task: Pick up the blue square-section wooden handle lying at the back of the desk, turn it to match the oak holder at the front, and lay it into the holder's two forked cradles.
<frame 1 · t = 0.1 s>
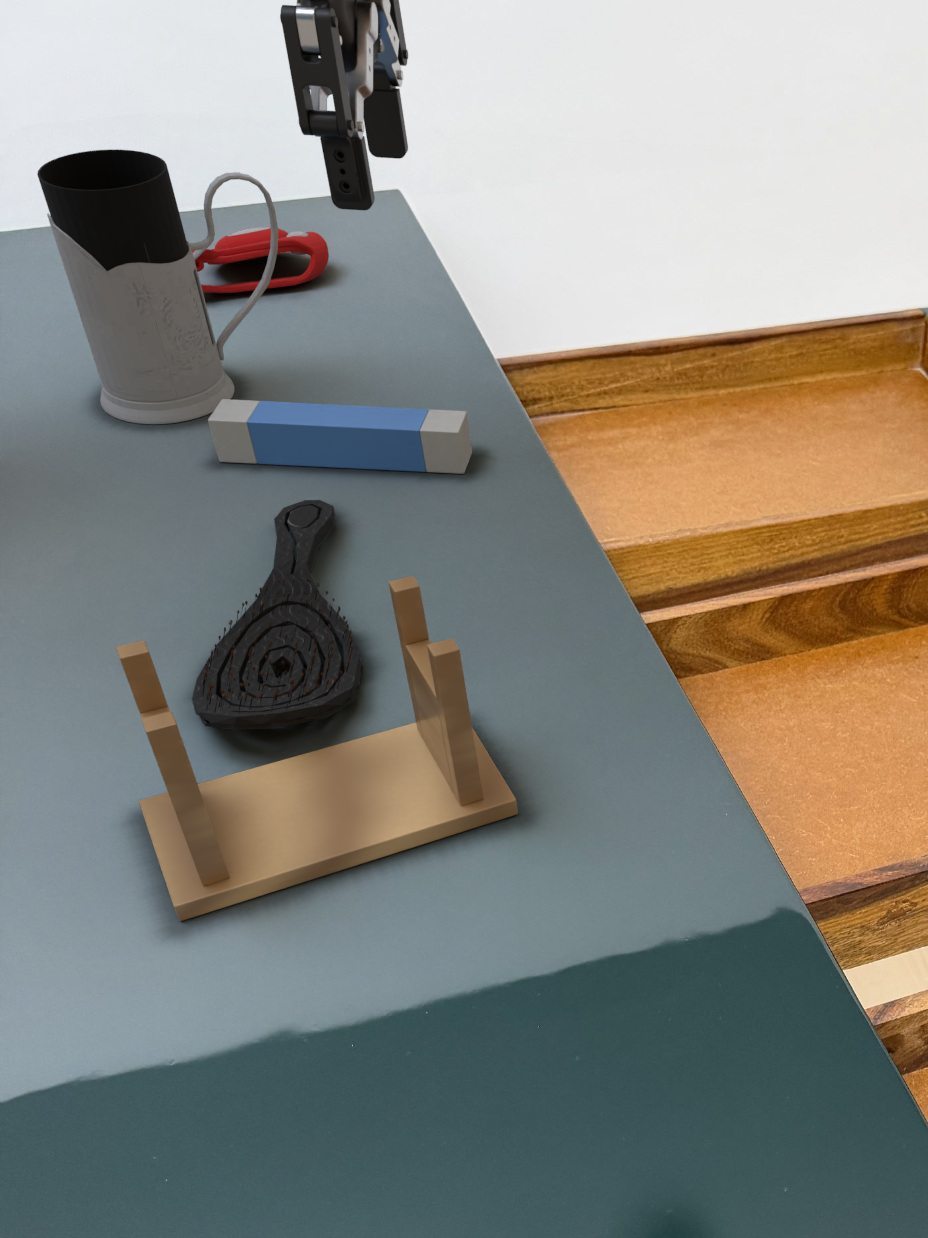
hand: (372, 181, 82), 18 cm above the table, tool pointing down, fingers open, 8 cm apart
holder: (333, 814, 69), on the table
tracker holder: (247, 280, 114), on the table
hairbrush: (295, 628, 80), on the table
handle: (347, 457, 94), on the table
glass holder: (209, 389, 100), on the table
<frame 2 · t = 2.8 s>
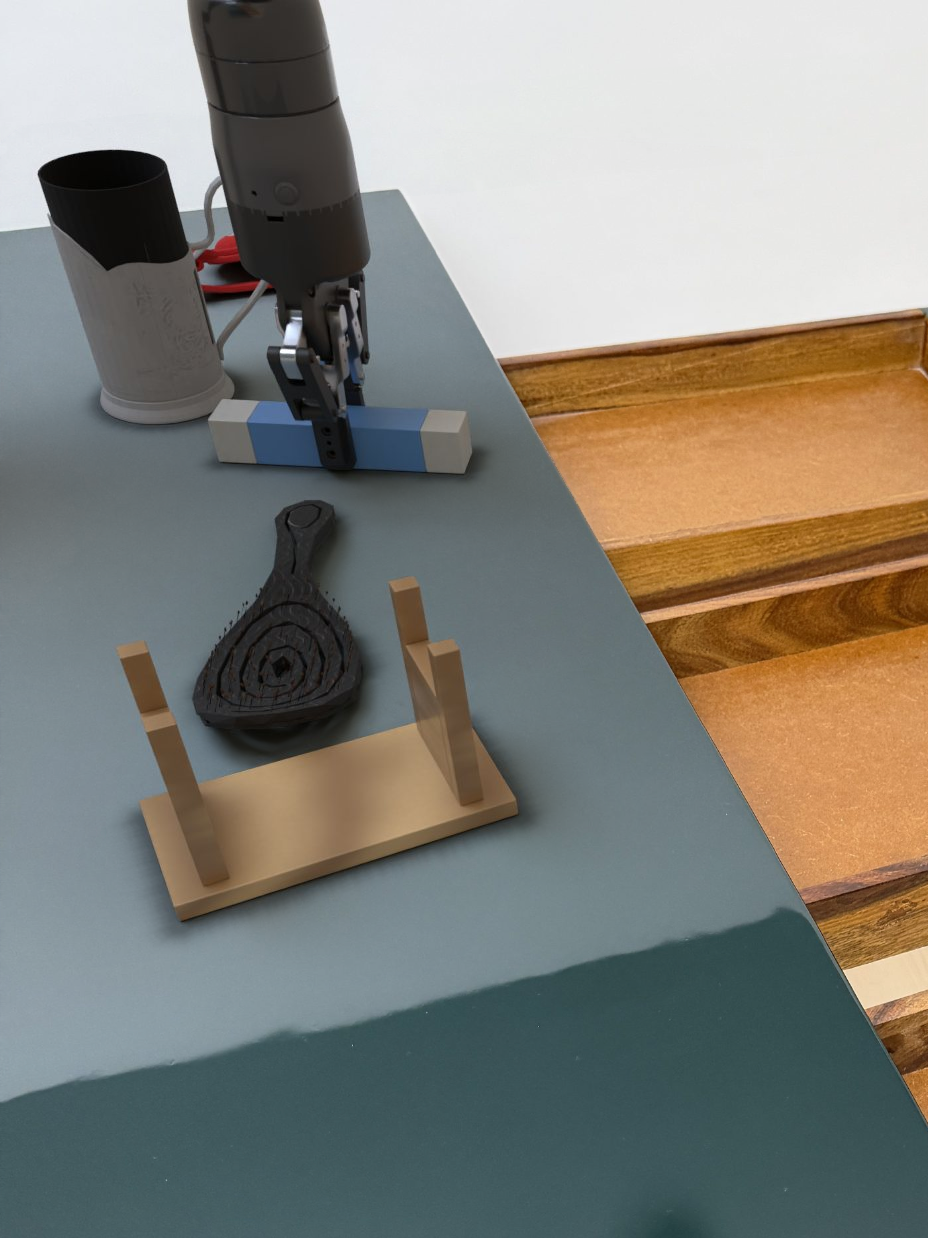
hand: (346, 452, 94), 0 cm above the table, tool pointing down, fingers closed on handle, 3 cm apart
handle: (347, 457, 94), on the table, touching gripper
everything else where it was.
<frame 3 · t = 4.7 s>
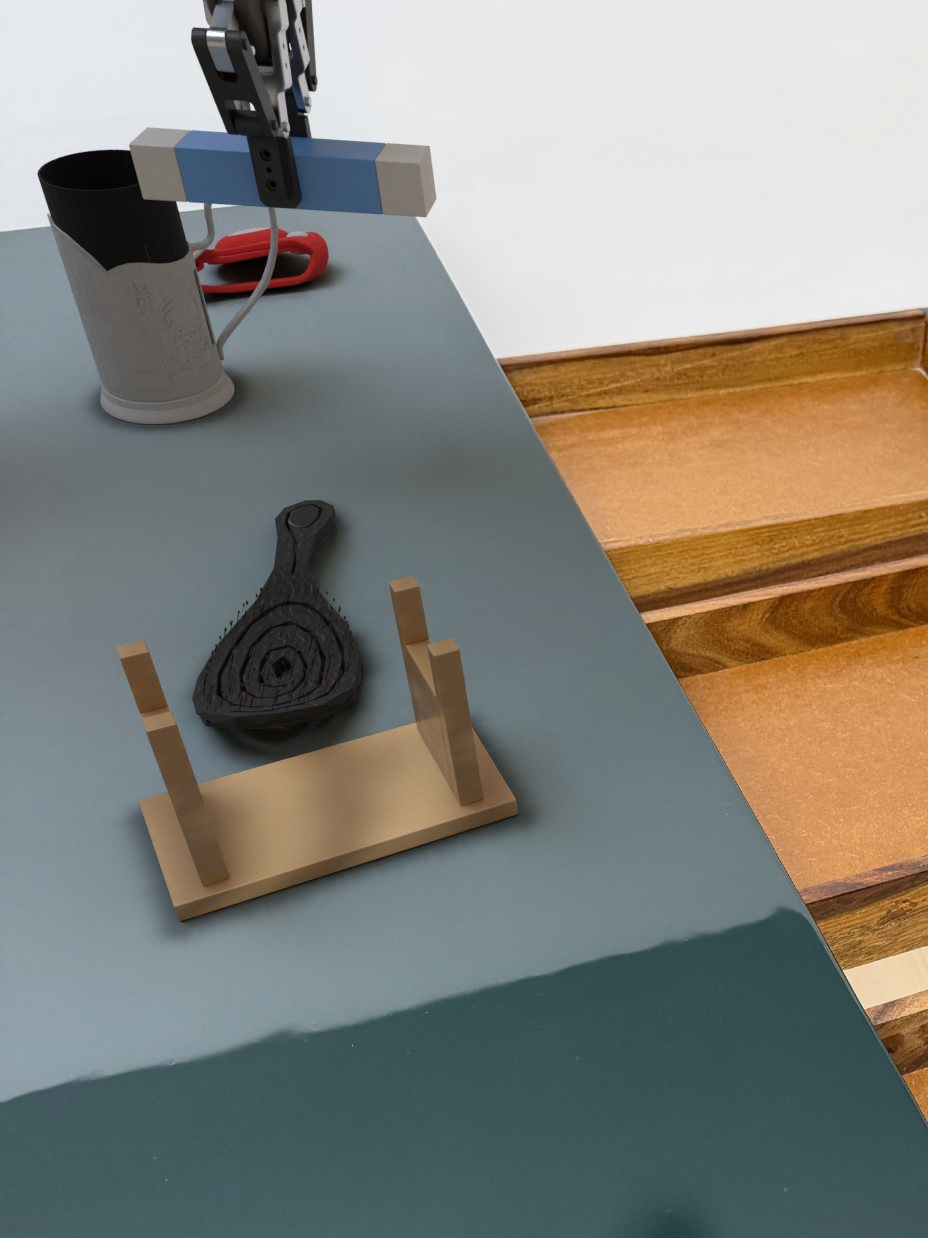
hand: (290, 192, 82), 17 cm above the table, tool pointing down, fingers closed on handle, 3 cm apart
handle: (292, 199, 82), point 17 cm above the table, touching gripper
everything else where it was.
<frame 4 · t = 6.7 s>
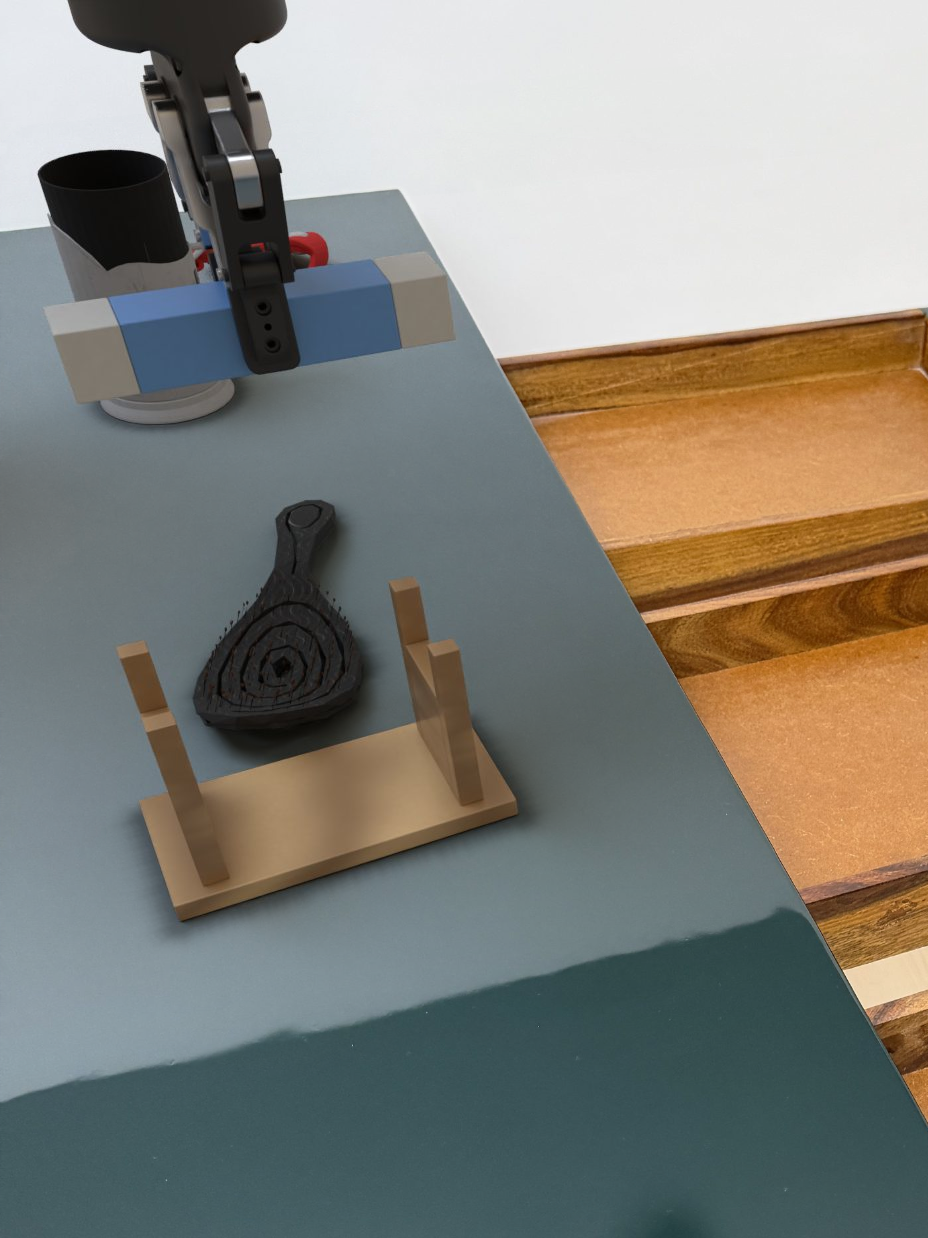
hand: (264, 350, 62), 20 cm above the table, tool pointing down, fingers closed on handle, 3 cm apart
handle: (268, 357, 62), point 19 cm above the table, touching gripper
everything else where it was.
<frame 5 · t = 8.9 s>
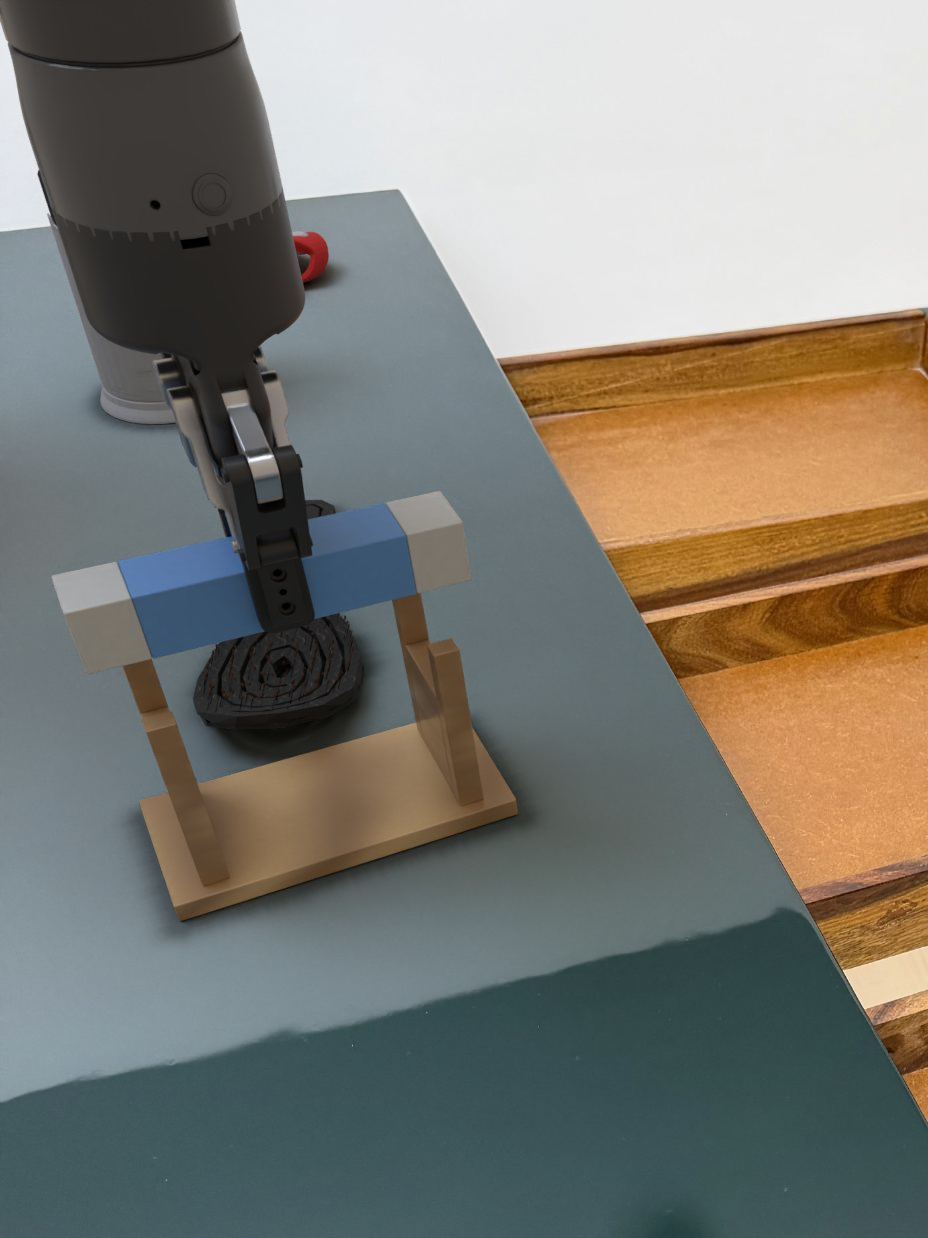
hand: (277, 601, 60), 12 cm above the table, tool pointing down, fingers closed on handle, 3 cm apart
handle: (280, 607, 61), point 12 cm above the table, touching gripper
everything else where it was.
when the fingers open (7 cm above the table, at t = 10.4 s): handle stays where it is, resting on holder.
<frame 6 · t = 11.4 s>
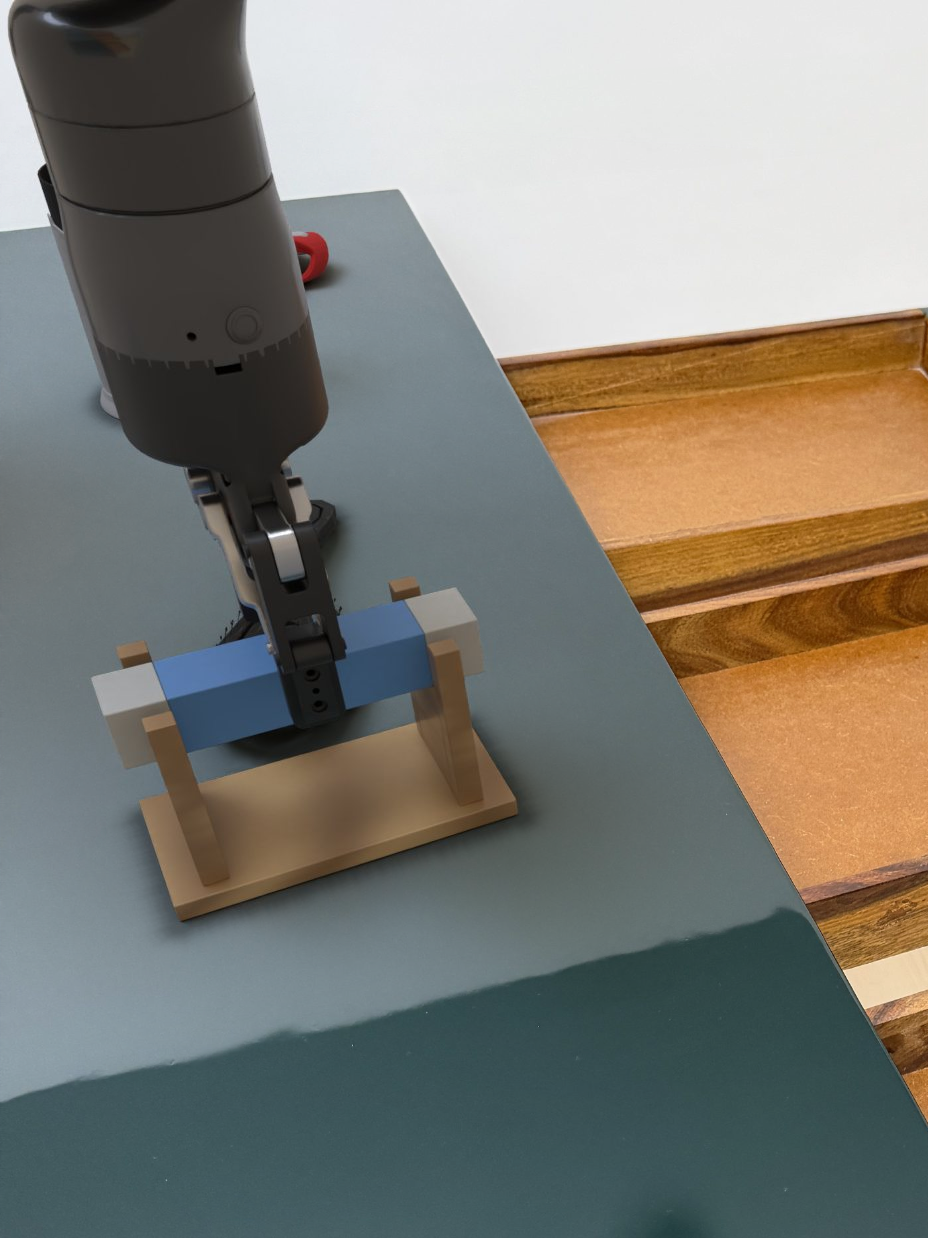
hand: (293, 665, 63), 9 cm above the table, tool pointing down, fingers open, 8 cm apart
handle: (305, 700, 64), point 7 cm above the table, touching holder
everything else where it was.
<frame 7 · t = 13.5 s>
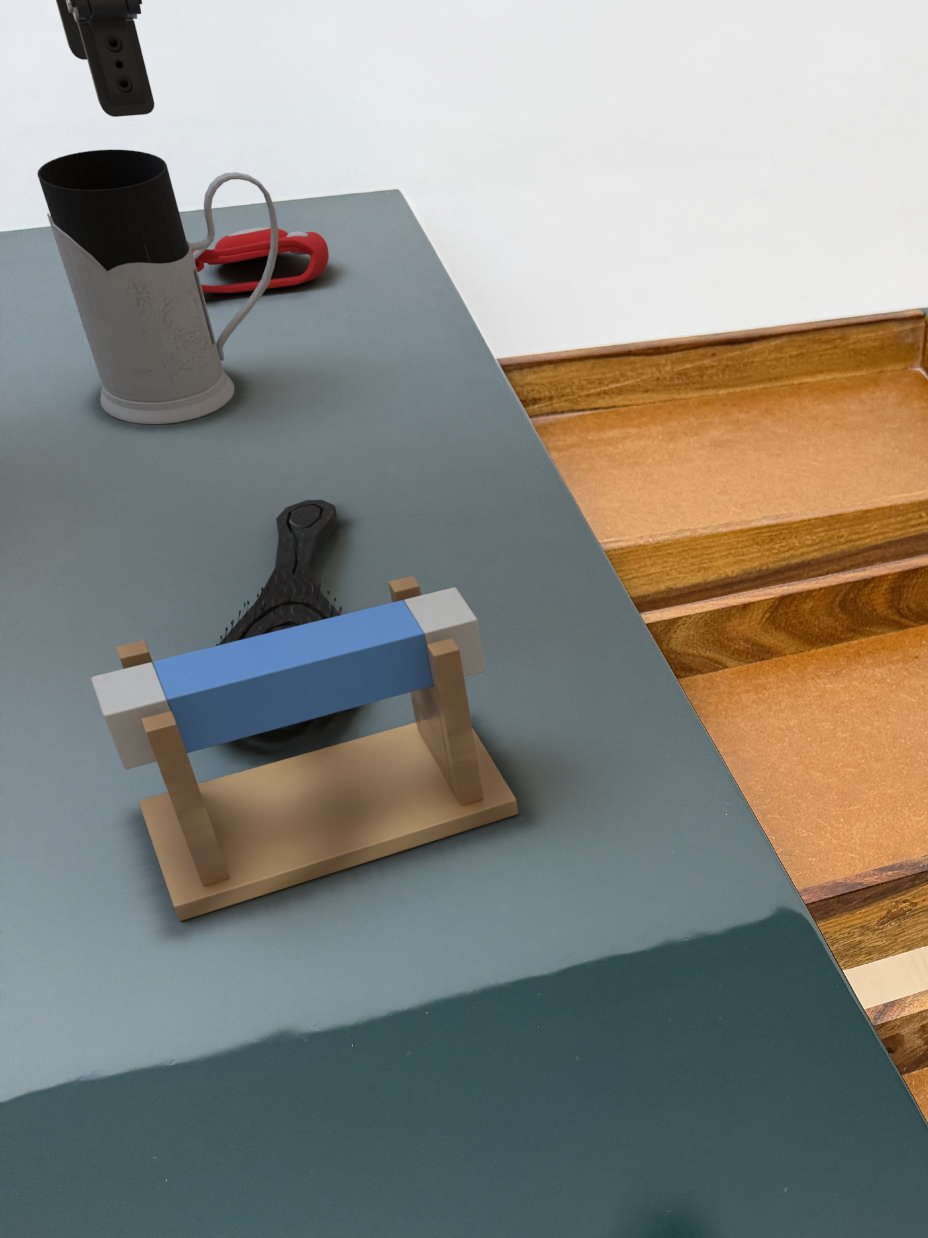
hand: (112, 84, 66), 26 cm above the table, tool pointing down, fingers open, 8 cm apart
nothing on the table moved.
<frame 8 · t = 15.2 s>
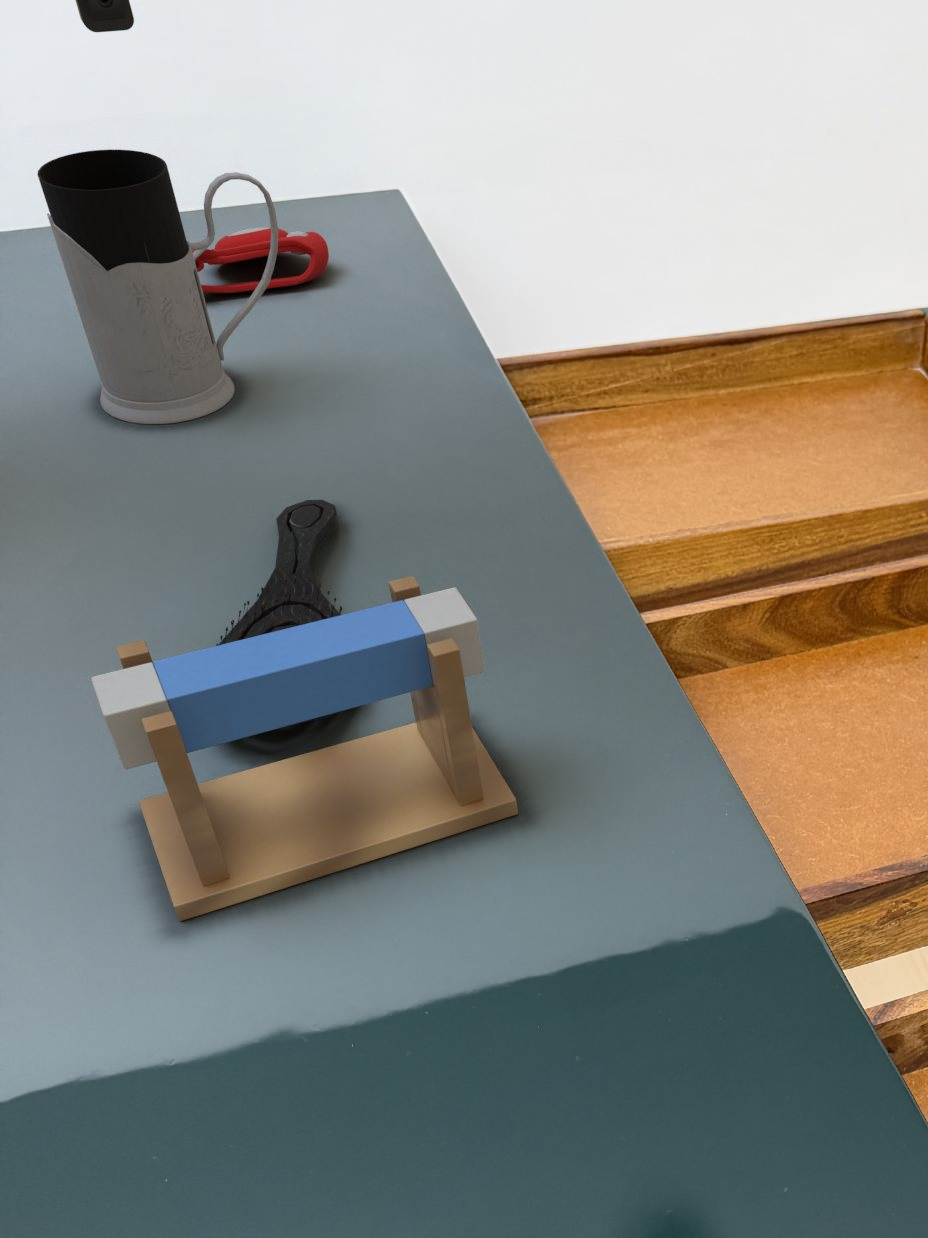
hand: (93, 5, 68), 28 cm above the table, tool pointing down, fingers open, 8 cm apart
nothing on the table moved.
at the end: handle 0.1 cm off-centre on the holder, point 7.0 cm above the holder's base; handle tilted 0°; the gripper is holding nothing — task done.
